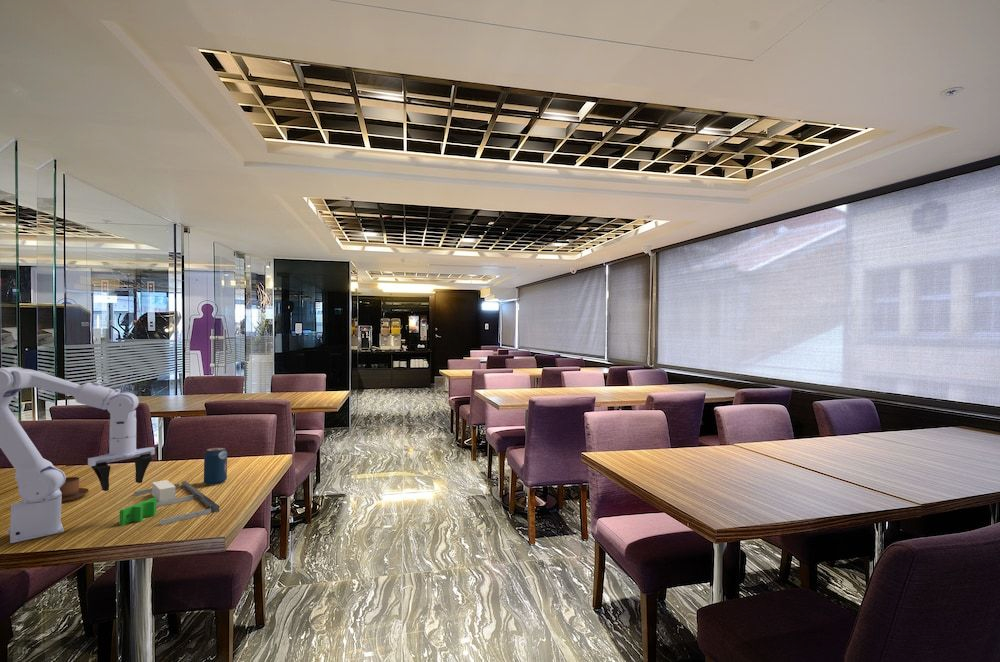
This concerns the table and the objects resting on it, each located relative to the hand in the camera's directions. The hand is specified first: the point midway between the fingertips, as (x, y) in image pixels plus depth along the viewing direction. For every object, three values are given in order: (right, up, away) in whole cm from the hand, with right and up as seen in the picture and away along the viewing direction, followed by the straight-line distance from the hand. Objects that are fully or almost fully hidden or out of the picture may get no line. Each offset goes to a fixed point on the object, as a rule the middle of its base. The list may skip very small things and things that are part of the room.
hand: (122, 486), depth 125 cm
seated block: (-4, -10, +20) cm, 23 cm away
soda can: (+3, -11, +36) cm, 37 cm away
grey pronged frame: (+3, -10, +15) cm, 19 cm away
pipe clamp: (+3, -10, +2) cm, 11 cm away
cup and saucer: (-34, -11, +18) cm, 40 cm away
